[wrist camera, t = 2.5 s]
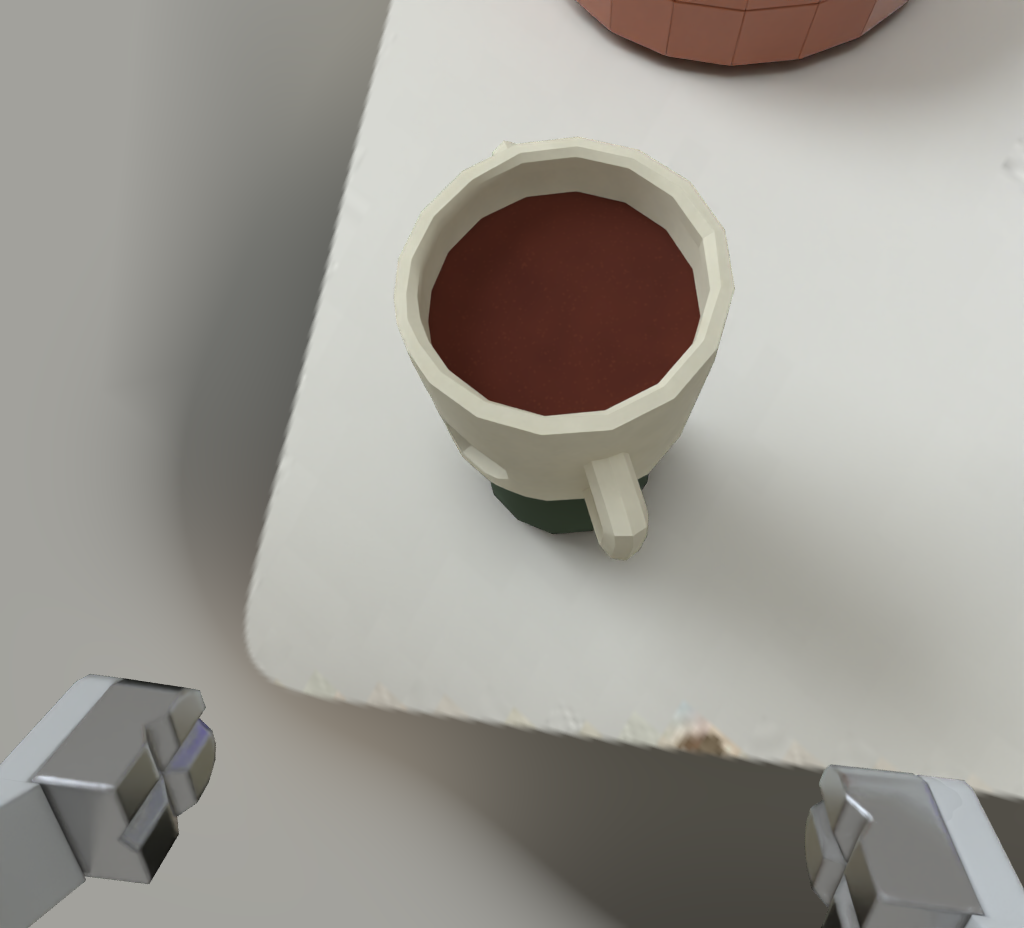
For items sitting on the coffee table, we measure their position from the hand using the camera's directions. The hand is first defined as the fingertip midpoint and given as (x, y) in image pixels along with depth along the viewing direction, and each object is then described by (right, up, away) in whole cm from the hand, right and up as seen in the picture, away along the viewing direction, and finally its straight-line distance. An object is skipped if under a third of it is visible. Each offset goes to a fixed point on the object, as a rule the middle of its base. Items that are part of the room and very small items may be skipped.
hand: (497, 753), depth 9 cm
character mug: (+2, +4, +18) cm, 18 cm away
